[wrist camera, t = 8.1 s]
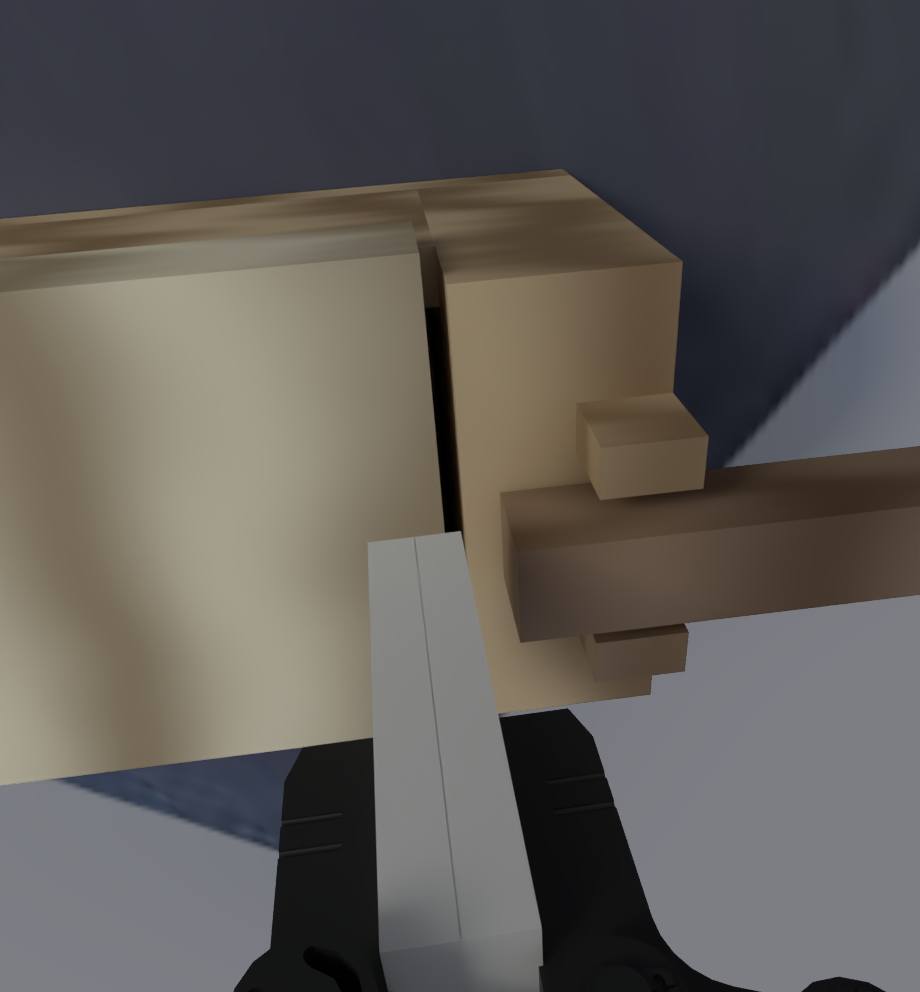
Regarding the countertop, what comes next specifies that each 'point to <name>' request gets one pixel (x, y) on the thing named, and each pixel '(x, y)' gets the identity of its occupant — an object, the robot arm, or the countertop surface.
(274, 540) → the lid
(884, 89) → the countertop surface
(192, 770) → the countertop surface
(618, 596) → the bar
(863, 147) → the countertop surface
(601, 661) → the toolbox
